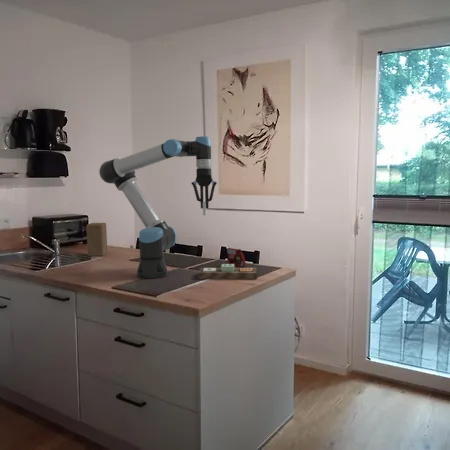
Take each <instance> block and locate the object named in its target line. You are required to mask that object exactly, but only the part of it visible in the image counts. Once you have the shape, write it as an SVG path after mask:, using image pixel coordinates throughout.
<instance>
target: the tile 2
mask: <svg viewBox="0 0 450 450" xmlns="http://www.w3.org/2000/svg"><path fill="white" fill-rule="evenodd" d="M220 268H221V272H234V264H225V263H222V264H221V265H220Z"/></svg>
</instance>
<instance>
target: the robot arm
mask: <svg viewBox="0 0 450 450" xmlns="http://www.w3.org/2000/svg"><path fill="white" fill-rule="evenodd" d="M174 157H175V158H176V157H179V158H183V157H196V158H195V160H196V161H195V163H196V165H195V166H196V171H195V172H196V176H195V177H196V178H195V180H194V181H192V182H191V185H192V187H193V190H194V194H195V195H194V196H195V198H196V201H198V202H199V203H200V209H202V215H203V216H207V215H208V214H207V213H208V212H207V209H209V206H210V205H209V204H210V203H209V202H212V200H213V197H214V192H215V188H216V186H217V184H218V182H217V181H215V180H213V177H212V168H211V167H212V140H211V138H210V137H209V136H196V137H195V140H189V141H187V140H185V141H184V140H178V139H174V138H173V139H172V138H171V139H167V140H166V141H165V142H164V143H161V144H158V145H155V146H153V147H150V148H147V149H144V150H142V151H139V152H136V153H133V154H131V155H128V156H124V157H122V158H117V157H116V158H114V159H109V160H108V161H107V160H106V161H104V162H103V163H102V164H101V165H100V168H99V171H98V173H99V177H100V178H101V180H102V181H103V182H104V183H106V184H113V185H114V186H115V187H116V188H117V191H121V192H122V193H123V195H124V196H125V198H126V199H127V201H128V202H129V203H130V205H131V206H132V208H133V210H134V211H135V213H136V215H137V216H138V217H139V219H140V221H141V222H142V224H143V225H144V227H145V228H142V229H141V230H140V231H139V232H138V233H139V236H138V241H139V243H138V244H139V263H138V267H137V271H136V276H137V277H138V278H139V279H140V278H141V279H157V278H163V277H166V276H168V275H169V273H168V272H169V271H168V267H167V265H166V261H165V259H164V258H165V257H164V251H167V250H169V249H170V248H172V247H174V246H175V244H176V243H177V239H178V235H177V233H176V232H177V231H176V230H175V229H174V228H173V227H171V226H169V225H168V224H167V222H166V220H163V219H161V218H160V217H159V215H158V214H157V212H156V210H155V209H154V208H153V206H152V205H151V203H150V202H149V200H148V198H147V197H146V195H145V194H144V192H143V191H142V189H141V188H140V186H139V185H138V183H137V180H138V178H137V177H136V170H139V169H140V170H141V169H143V168H145V167H148V166H150V165H154V164H156V163H160V162H162V161H165V160H168V159H171V158H174ZM197 185H198V186H199V190H198V188H197ZM210 185H211V189H210V193H209V186H210ZM204 189H205V190H204ZM199 191H200V192H199ZM204 192H205V193H204ZM199 194H200V195H199ZM204 194H205V201H204ZM209 194H210V195H209Z"/></svg>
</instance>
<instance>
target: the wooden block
mask: <svg viewBox="0 0 450 450" xmlns="http://www.w3.org/2000/svg"><path fill="white" fill-rule="evenodd" d="M107 233H108V232H107V223H106V222H91V223H88V224H86V242H87V243H86V245H87V256H88V257H104V256H105V255H107V254H108V236H107V235H108V234H107Z"/></svg>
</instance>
